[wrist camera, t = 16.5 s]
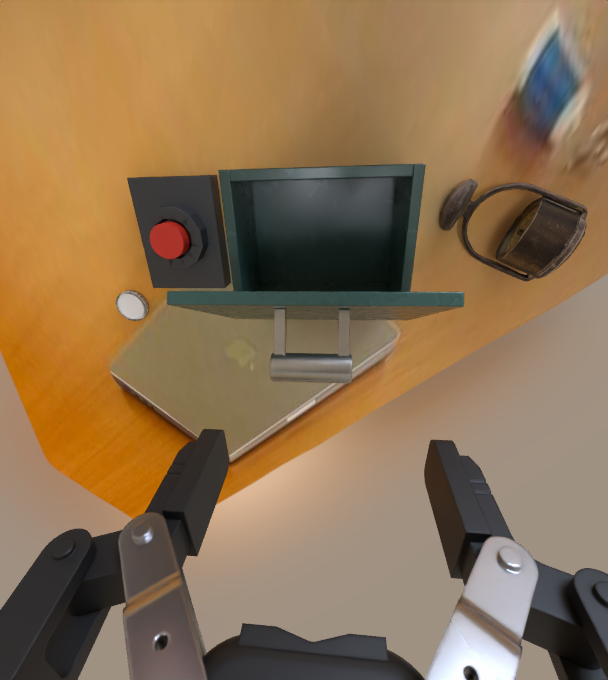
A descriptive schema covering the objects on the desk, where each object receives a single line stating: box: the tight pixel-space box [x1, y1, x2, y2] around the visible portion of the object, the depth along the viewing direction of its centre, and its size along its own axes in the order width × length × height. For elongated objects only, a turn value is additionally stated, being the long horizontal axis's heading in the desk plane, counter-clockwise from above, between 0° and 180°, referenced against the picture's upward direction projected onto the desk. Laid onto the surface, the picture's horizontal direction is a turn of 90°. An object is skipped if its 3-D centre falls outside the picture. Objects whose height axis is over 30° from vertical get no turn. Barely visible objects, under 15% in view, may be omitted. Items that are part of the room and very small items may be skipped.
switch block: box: [127, 175, 231, 288], centre depth 37 cm, size 12×9×4 cm
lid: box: [167, 291, 464, 383], centre depth 26 cm, size 14×17×5 cm
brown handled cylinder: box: [440, 180, 587, 281], centre depth 32 cm, size 7×13×10 cm
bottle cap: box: [116, 291, 148, 321], centre depth 44 cm, size 4×4×1 cm
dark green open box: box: [219, 164, 425, 292], centre depth 34 cm, size 13×17×9 cm
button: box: [150, 221, 190, 259], centre depth 35 cm, size 4×4×2 cm
